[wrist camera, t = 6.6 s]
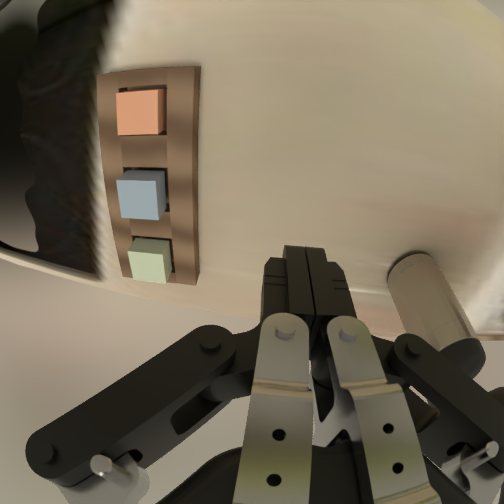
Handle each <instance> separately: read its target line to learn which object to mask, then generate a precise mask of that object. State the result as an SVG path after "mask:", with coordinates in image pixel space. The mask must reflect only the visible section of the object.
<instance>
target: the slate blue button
mask: <svg viewBox="0 0 504 504" xmlns="http://www.w3.org/2000/svg"><path fill="white" fill-rule="evenodd" d="M116 182H117V190H118V198H119V205H120V211H121V217H122V218H133V219H148V220H159V219H160V217H161V216H162V214H163V213H164V211H165V209H166V193H165V174H164V171H145V170H127V171H126V172H125V173H124V174H123V175H121V176H120V177H119V178H118V179H117V180H116Z"/></svg>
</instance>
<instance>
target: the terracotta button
mask: <svg viewBox="0 0 504 504" xmlns="http://www.w3.org/2000/svg"><path fill="white" fill-rule="evenodd" d="M116 107H117V129H118V135H140V134H159V133H161V132H162V131H163V130H165V129H166V128H167V88H150V89H136V90H127V91H123V92H119V93H116Z"/></svg>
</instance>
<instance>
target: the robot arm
mask: <svg viewBox="0 0 504 504" xmlns="http://www.w3.org/2000/svg"><path fill="white" fill-rule="evenodd" d="M388 288H389V290H390V293H391V295H392V298H393V300H394V303H395V305H396V308H397V310H398V313H399V315H400V318H401V321H402V323H403V326H404V329H405V331H406V333H405V334H402V335H400V336H398V337H397V338H396V340H395V342H392V341H389V340H385V339H381V338H378V337H375V336H373V335H371V334H370V332H369V329H368V328H367V326H366V325H365V324H364V323H363V322H362V321H360V320H359V319H357V316H356V312H355V309H354V305H353V302H352V298H351V295H350V291H349V288H348V284H347V282H346V278H345V274H344V271H343V270H342V269H341V268H340V266H339V265H338V264H337V263H336V262H327V258H326V254H325V250H324V249H323V248H313V247H301V246H289V245H285V246H284V251H283V258H274V257H270V259H269V260H268V261H267V263H266V264H265V267H264V276H263V285H262V294H261V315H260V323H259V324H258V326H256V327H255V328H254V329H252V330H250V331H247V332H243V333H238V334H232V333H231V332H230V331H229V330H227V329H225V328H223V327H221V326H217V325H204V326H200V327H198V328H196V329H194V330H193V331H191V332H190V333H188V334H187V335H185V336H184V337H183V338H181V339H180V340H179V341H177V342H175V343H174V344H172V345H171V346H169V347H168V348H166V349H165V350H163V351H162V352H160V353H159V354H157V355H156V356H154V357H153V358H151V359H150V360H148V361H147V362H145V363H144V364H142V365H141V366H139V367H138V368H136V369H135V370H133V371H132V372H130V373H129V374H127V375H126V376H124V377H122V378H121V379H119V380H118V381H116V382H115V383H113V384H112V385H110V386H109V387H107V388H105V389H104V390H102V391H101V392H99V393H98V394H96V395H95V396H93V397H91V398H90V399H88V400H86V401H85V402H83V403H82V404H80V405H78V406H77V407H75V408H74V409H72V410H70V411H69V412H67V413H66V414H64V415H62V416H61V417H59V418H57V419H56V420H54V421H52V422H51V423H49V424H47V425H46V426H44V427H43V428H41V429H39V430H38V431H36V432H34V433H33V434H32V435H31V436H30V438H29V439H28V441H27V444H26V450H25V452H26V458H27V462H28V464H29V466H30V467H31V469H32V470H33V471H34V472H35V473H36V474H38V475H39V476H41V477H43V478H45V479H47V480H49V481H51V482H53V483H54V484H56V485H57V486H58V487H59V489H60V490H61V492H62V493H63V494H64V496H65V498H66V499H67V500H68V502H69V504H137V503H138V501H139V500H140V499H141V498H142V497H143V496H144V495H145V494H146V493H147V491H148V489H149V477H148V474H147V472H146V470H145V469H146V468H147V467H149V466H150V465H151V464H153V463H154V462H156V461H157V460H158V459H160V458H161V457H162V456H164V455H165V454H166V453H168V452H169V451H170V450H172V449H173V448H174V447H176V446H177V445H178V444H180V443H181V442H182V441H183V440H185V439H186V438H187V437H188V436H190V435H191V434H192V433H194V432H195V431H196V430H197V429H199V428H200V427H201V426H202V425H204V424H205V423H206V422H207V421H208V420H209V419H211V418H212V417H213V416H214V415H216V414H217V413H218V412H219V411H220V410H221V409H223V408H224V407H225V406H226V405H227V404H228V403H230V401H231V400H232V399H235V398H240V397H244V396H249V395H251V397H250V404H249V410H248V416H247V422H246V429H245V435H244V440H243V446H242V447H238V448H234V449H231V450H228V451H225V452H223V453H221V454H219V455H217V456H215V457H213V458H212V459H210V460H209V461H207V462H206V463H205V464H204V465H202V466H201V467H200V468H199V469H198V470H197V471H196V472H194V473H193V474H192V475H191V476H190V477H188V478H187V479H186V480H185V481H184V482H183V483H181V484H180V485H179V486H178V487H176V488H175V489H174V490H173V491H171V492H170V493H169V494H168V495H166V496H165V497H164V498H163V499H161V500H160V501H159V502H157V503H156V504H492V502H493V500H494V499H495V497H496V495H497V493H498V491H499V489H500V487H501V494H500V499H499V503H498V504H504V387H499V388H496V389H494V390H492V391H490V392H487V391H486V390H484V389H483V388H482V387H481V386H480V385H479V384H477V383H476V382H475V381H474V380H473V378H474V377H475V376H476V375H477V374H478V373H479V372H480V370H481V369H482V367H483V365H484V363H485V360H486V356H485V352H484V349H483V347H482V345H481V343H480V341H479V339H478V337H477V335H476V333H475V331H474V329H473V327H472V325H471V323H470V321H469V319H468V318H467V316H466V314H465V312H464V310H463V308H462V306H461V305H460V303H459V301H458V299H457V298H456V296H455V294H454V292H453V291H452V289H451V287H450V285H449V284H448V282H447V280H446V279H445V277H444V275H443V274H442V272H441V271H440V269H439V267H438V266H437V264H436V263H435V261H434V260H433V259H432V257H430V256H429V255H426V254H413V255H410V256H408V257H406V258H404V259H402V260H401V261H400V262H399V263H397V264H396V266H395V267H394V268H393V269H392V271H391V272H390V274H389V277H388ZM309 360H311V371H310V374H309ZM410 386H413V387H414V388H415V389H416V390H417V391H418V392H420V393H421V394H422V395H423V396H424V397H425V398H426V399H427V401H428V404H427V403H426V402H424V401H423V400H422V399H421V398H420V397H419V396H417V395H416V394H415V393H414V392H413V391H412V390H411V389H409V387H410ZM309 388H310V389H309ZM313 414H314V421H315V433H314V438H313V445H312V437H313ZM426 456H427V457H428V458H429V459H430V460H431V461H432V462H434V463H435V464H436V465H437V466H438V467H440V468H441V470H440V469H439V468H438V467H437V466H435V465H434V464H433V463H432V462H431V461H430V460H429V459H428V458H427V457H426Z"/></svg>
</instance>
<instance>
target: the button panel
mask: <svg viewBox="0 0 504 504" xmlns="http://www.w3.org/2000/svg"><path fill="white" fill-rule="evenodd" d="M200 70H201V67H199V66H189V67H165V68H151V69H140V70H131V71H123V72H115V73H108V74H102V75H97V104H98V123H99V136H100V147H101V157H102V166H103V174H104V181H105V189H106V195H107V202H108V208H109V213H110V219H111V224H112V230H113V235H114V240H115V244H116V249H117V253H118V258H119V262H120V266H121V271H122V275H123V277H129V278H133V275H132V270H131V266H130V261H129V256H128V249H129V248H130V246H131V245H132V243H133V241H134V240H135V238H144V239H155V240H167V241H169V245H170V255H171V264H172V271H171V273H170V276H169V278H168V281H167V282H170V283H179V284H188V285H196V283H197V280H198V276H199V273H200V271H199V244H198V116H199V90H200ZM150 88H167V128H166V129H165V130H163V131H162V132H161V133H159V134H140V135H118V129H117V107H116V93H119V92H123V91H127V90H136V89H150ZM127 170H145V171H164V174H165V193H166V209H165V211H164V213H163V214H162V216H161V217H160V219H159V220H148V219H133V218H122V217H121V211H120V205H119V198H118V190H117V182H116V180H117V179H118V178H119V177H120V176H121V175H123V174H124V173H125V172H126V171H127Z"/></svg>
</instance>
